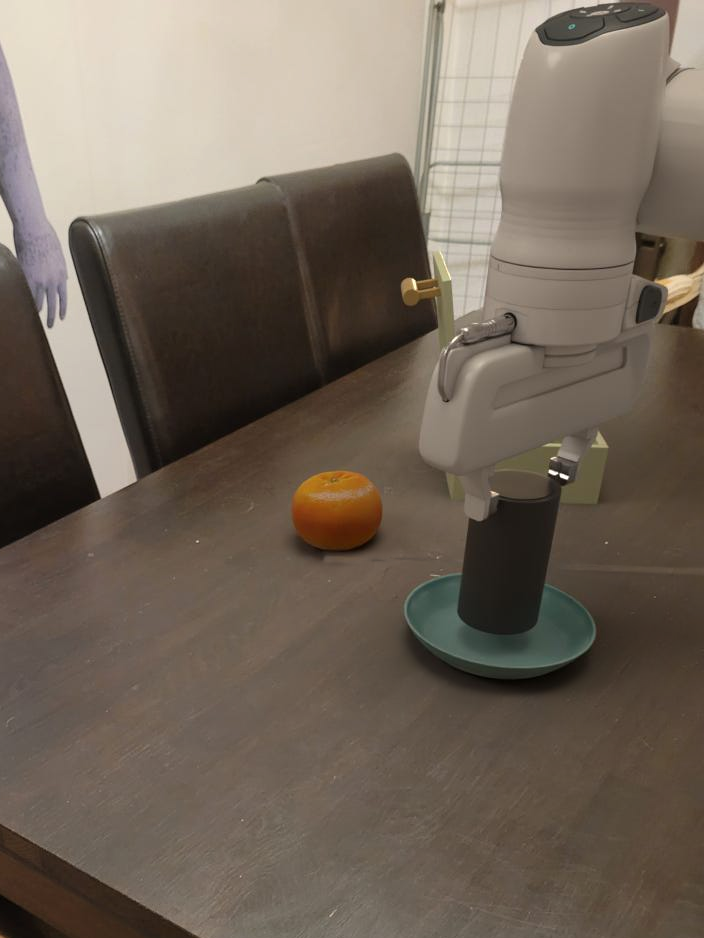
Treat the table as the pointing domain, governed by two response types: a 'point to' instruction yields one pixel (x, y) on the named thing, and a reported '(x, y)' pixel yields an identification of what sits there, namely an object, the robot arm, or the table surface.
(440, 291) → the chest lid
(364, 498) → the fruit
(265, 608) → the table surface
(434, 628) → the saucer
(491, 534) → the black cup
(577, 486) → the chest
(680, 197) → the robot arm
